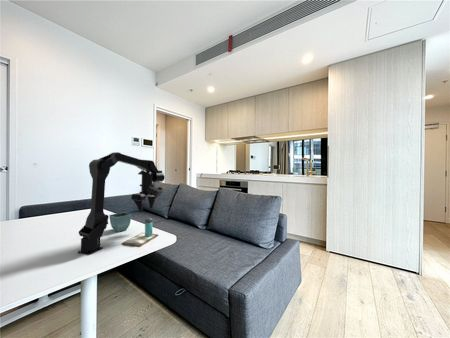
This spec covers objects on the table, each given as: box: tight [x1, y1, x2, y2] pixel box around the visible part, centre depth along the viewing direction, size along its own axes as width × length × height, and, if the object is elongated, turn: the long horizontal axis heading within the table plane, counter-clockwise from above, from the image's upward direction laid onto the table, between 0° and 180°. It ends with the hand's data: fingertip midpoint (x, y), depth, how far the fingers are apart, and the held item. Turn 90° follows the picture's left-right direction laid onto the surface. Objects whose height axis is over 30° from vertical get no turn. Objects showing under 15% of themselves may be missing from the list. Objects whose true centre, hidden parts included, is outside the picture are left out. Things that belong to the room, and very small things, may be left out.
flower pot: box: [108, 211, 132, 233], centre depth 109 cm, size 9×9×9 cm
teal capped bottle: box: [144, 217, 154, 237], centre depth 99 cm, size 4×4×9 cm
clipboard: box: [121, 232, 159, 247], centre depth 96 cm, size 15×10×1 cm, turn 168°
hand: (146, 210), depth 107 cm, fingers open, 9 cm apart
